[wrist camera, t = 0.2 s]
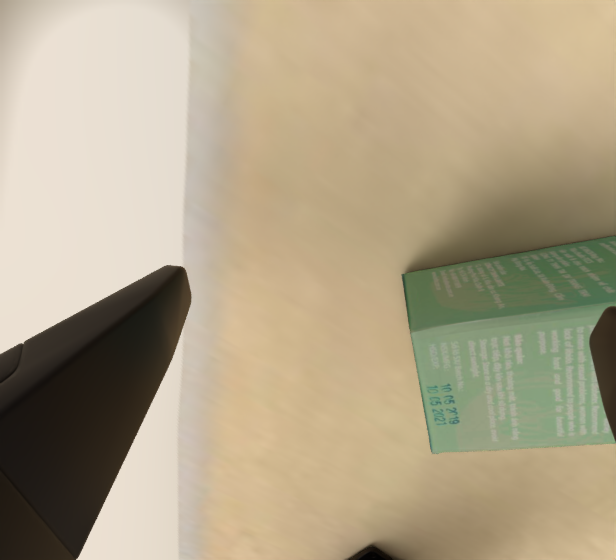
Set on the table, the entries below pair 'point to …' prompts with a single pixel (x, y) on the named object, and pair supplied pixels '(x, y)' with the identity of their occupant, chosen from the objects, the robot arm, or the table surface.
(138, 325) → the robot arm
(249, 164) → the table surface
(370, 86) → the table surface
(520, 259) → the box
